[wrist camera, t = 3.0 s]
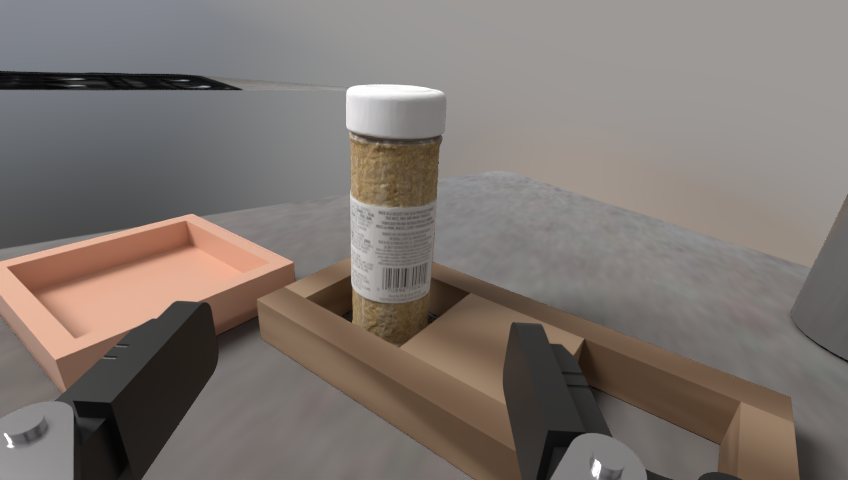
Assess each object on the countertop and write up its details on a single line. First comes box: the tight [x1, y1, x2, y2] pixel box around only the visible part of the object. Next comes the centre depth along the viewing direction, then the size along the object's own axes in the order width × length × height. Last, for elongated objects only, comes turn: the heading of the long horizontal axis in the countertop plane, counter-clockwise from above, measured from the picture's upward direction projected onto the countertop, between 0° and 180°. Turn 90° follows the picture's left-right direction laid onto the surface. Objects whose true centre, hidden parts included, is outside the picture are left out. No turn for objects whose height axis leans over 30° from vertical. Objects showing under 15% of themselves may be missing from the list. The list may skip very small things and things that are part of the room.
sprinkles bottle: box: [346, 84, 446, 348], centre depth 22 cm, size 5×5×14 cm
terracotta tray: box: [0, 214, 295, 394], centre depth 26 cm, size 12×12×2 cm
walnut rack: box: [257, 257, 800, 480], centre depth 21 cm, size 10×23×2 cm, turn 54°
